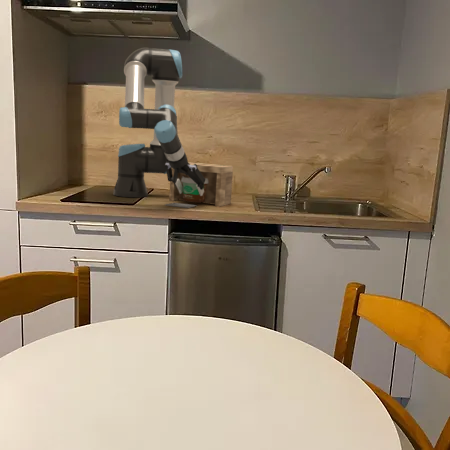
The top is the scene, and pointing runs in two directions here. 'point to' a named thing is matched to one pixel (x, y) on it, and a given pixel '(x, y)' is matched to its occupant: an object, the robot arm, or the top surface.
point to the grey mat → (181, 205)
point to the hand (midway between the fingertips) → (191, 192)
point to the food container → (193, 190)
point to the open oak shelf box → (217, 185)
